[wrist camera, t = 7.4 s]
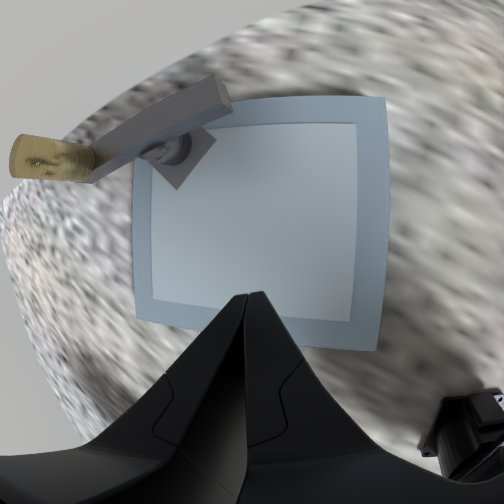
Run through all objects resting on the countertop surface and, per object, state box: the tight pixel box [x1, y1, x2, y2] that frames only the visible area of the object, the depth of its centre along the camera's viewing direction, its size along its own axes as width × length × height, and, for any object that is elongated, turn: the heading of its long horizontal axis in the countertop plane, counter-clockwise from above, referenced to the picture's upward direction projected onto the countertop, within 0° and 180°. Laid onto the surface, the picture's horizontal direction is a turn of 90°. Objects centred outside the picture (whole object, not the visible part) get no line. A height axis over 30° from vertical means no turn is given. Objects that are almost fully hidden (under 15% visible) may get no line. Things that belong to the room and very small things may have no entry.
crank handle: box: [9, 75, 233, 184], centre depth 15 cm, size 3×11×10 cm, turn 106°
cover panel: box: [132, 96, 390, 352], centre depth 20 cm, size 16×18×2 cm
